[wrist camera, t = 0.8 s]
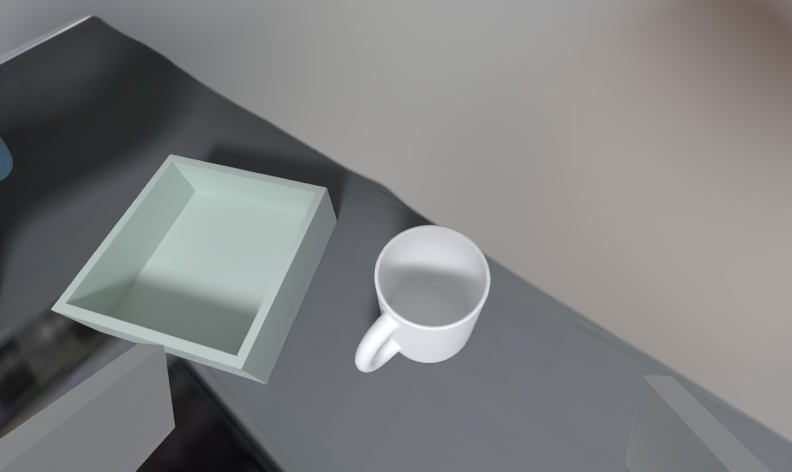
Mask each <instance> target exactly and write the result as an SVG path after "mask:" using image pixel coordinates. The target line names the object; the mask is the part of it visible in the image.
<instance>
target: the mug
mask: <svg viewBox="0 0 792 472" xmlns="http://www.w3.org/2000/svg"><path fill="white" fill-rule="evenodd" d="M375 286H376V291H377V296H378V301H379V306H380V311H381V316H380V317H379V318H378V319H377V320H376V321H375V322H374V324H373V325H372V326H371V327H370V329H369V330H368V331H367V333H366V334H365V335H364V337H363V339H362V340H361V342H360V344H359V346H358V348H357V352H356V355H355V363H356V366H357V368H358V369H359V370H361V371H362V372H371V371H374V370H376V369H377V368H379V367H380V366H382V365H383V364H384V363H386V362H387V361H388V360H389V359H390V358H391V357H393V356H394V355H395V354H396V353H397V352H398V351H399V352H400V353H401V354H403V355H404V356H406V357H408V358H410V359H412V360H415V361H418V362H424V363H434V362H440V361H443V360H446V359H448V358H450V357H452V356H453V355H455V354H456V353H457V352H458V351H460V350H461V348H462V347H463V346H464V345H465V344H466V342H467V340H468V339H469V337H470V334H471V332H472V330H473V328H474V325H475V323H476V321H477V318H478V316H479V314H480V312H481V309H482V307H483V305H484V302H485V300H486V298H487V296H488V292H489V288H490V271H489V267H488V263H487V261H486V259H485V256H484V255H483V253H482V251H481V250H480V248H479V247H478V246H477V245H476V244H475V243H474V242H473V241H472V240H471V239H470V238H468V237H467V236H466V235H464V234H462V233H460V232H459V231H456V230H454V229H451V228H448V227H444V226H439V225H423V226H417V227H413V228H410V229H408V230H405V231H403V232H401V233H399V234H398V235H397V236H395V237H394V238H393V239H391V240H390V241H389V242H388V243H387V245H386V246H385V247H384V248H383V250H382V251H381V253H380V255H379V257H378V259H377V263H376V266H375Z"/></svg>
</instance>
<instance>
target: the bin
mask: <svg viewBox="0 0 792 472" xmlns="http://www.w3.org/2000/svg"><path fill="white" fill-rule="evenodd" d="M336 223H337V219H336V216H335V213H334V210H333V206H332V203H331V200H330V196H329V193H328V190H327V188H325V187H320V186H315V185H311V184H306V183H301V182H297V181H292V180H287V179H283V178H278V177H273V176H269V175H264V174H259V173H255V172H250V171H245V170H241V169H236V168H231V167H227V166H222V165H217V164H213V163H208V162H203V161H199V160H194V159H189V158H185V157H180V156H175V155H171V154H170V155H169V157H168V158H167V159H166V161H165V162H164V163H163V165H162V166H161V167H160V168H159V170H158V171H157V172H156V174H155V175H154V176H153V178H152V179H151V180H150V181H149V183H148V184H147V185H146V187H145V188H144V189H143V191H142V192H141V193H140V194H139V196H138V197H137V198H136V200H135V201H134V202H133V204H132V205H131V206H130V207H129V209H128V210H127V211H126V213H125V214H124V215H123V217H122V218H121V219H120V220H119V222H118V223H117V224H116V226H115V227H114V228H113V230H112V231H111V232H110V233H109V235H108V236H107V237H106V239H105V240H104V241H103V243H102V244H101V245H100V246H99V248H98V249H97V250H96V252H95V253H94V254H93V256H92V257H91V258H90V259H89V261H88V262H87V263H86V265H85V266H84V267H83V269H82V270H81V271H80V272H79V274H78V275H77V276H76V278H75V279H74V280H73V282H72V283H71V284H70V285H69V287H68V288H67V289H66V291H65V292H64V293H63V295H62V296H61V297H60V299H59V300H58V301H57V302H56V304H55V305H54V306H53V308H52V309H51V310H53V311H55V312H57V313H59V314H62V315H64V316H66V317H69V318H71V319H73V320H75V321H78V322H80V323H82V324H85V325H87V326H89V327H91V328H94V329H96V330H98V331H101V332H104V333H107V334H110V335H113V336H116V337H119V338H122V339H126V340H129V341H132V342H135V343H142V344H158V345H164V350H165V352H167V353H170V354H173V355H176V356H179V357H182V358H186V359H189V360H192V361H195V362H198V363H201V364H205V365H208V366H211V367H214V368H217V369H220V370H223V371H227V372H230V373H233V374H236V375H239V376H242V377H246V378H249V379H252V380H255V381H258V382H261V383H264V384H267V383H268V381H269V378H270V376H271V374H272V372H273V369H274V367H275V365H276V362H277V360H278V358H279V355H280V353H281V351H282V348H283V346H284V344H285V341H286V339H287V337H288V335H289V332H290V330H291V328H292V325H293V323H294V321H295V318H296V316H297V314H298V311H299V309H300V307H301V304H302V302H303V300H304V297H305V295H306V293H307V291H308V288H309V286H310V284H311V281H312V279H313V277H314V274H315V272H316V270H317V267H318V265H319V263H320V260H321V258H322V256H323V254H324V251H325V249H326V247H327V244H328V242H329V240H330V237H331V235H332V233H333V230H334V228H335V226H336Z"/></svg>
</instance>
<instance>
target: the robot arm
mask: <svg viewBox="0 0 792 472" xmlns="http://www.w3.org/2000/svg"><path fill="white" fill-rule="evenodd" d="M12 166H13V160H12V156H11V154H10V152H9V150H8V148H7V146H6V145H5V143H4V142H3V140H2V139H1V137H0V181H1V180H3V179H4V178H6V177H7V176H8V175H9V174H10V172H11V170H12ZM174 427H175V424H174V417H173V409H172V402H171V395H170V387H169V380H168V372H167V365H166V357H165V350H164V345H158V344H142V343H138V344H137V345H135V346H134V347H132V348H131V349H130V350H128V351H127V352H125V353H124V354H122V355H121V356H119V357H118V358H117V359H115V360H114V361H112V362H111V363H109V364H108V365H107V366H105V367H104V368H102V369H101V370H99V371H98V372H96V373H95V374H94V375H92V376H91V377H89V378H88V379H86V380H85V381H83V382H82V383H81V384H79V385H78V386H76V387H75V388H73V389H72V390H70V391H69V392H68V393H66V394H65V395H63V396H62V397H60V398H59V399H58V400H56V401H55V402H53V403H52V404H50V405H49V406H47V407H46V408H45V409H43V410H42V411H40V412H39V413H37V414H36V415H34V416H33V417H32V418H30V419H29V420H27V421H26V422H24V423H23V424H21V425H20V426H19V427H17V428H16V429H14V430H13V431H11V432H10V433H9V434H7V435H6V436H4V437H3V438H1V439H0V472H135V471H136V470H137V469H138V468H139V467H140V466H141V465H142V463H143V462H144V461H145V460H146V459H147V458H148V457H149V456H150V454H151V453H152V452H153V451H154V450H155V449H156V448H157V447H158V445H159V444H160V443H161V442H162V441H163V440H164V439H165V438H166V436H167V435H168V434H169V433H170V432H171V431H172V430H173V429H174ZM625 464H626V466H627V467H628V469H629V471H630V472H771V471H770V470H769V469H768V468H767V467H765V466H764V465H763V464H762V463H761V462H760V461H759V460H758V459H757V458H756V457H755V456H754V455H753V454H752V453H751V452H750V451H749V450H748V449H747V448H746V447H745V446H744V445H743V444H742V443H741V442H740V441H738V440H737V439H736V438H735V437H734V436H733V435H732V434H731V433H730V432H729V431H728V430H727V429H726V428H725V427H724V426H723V425H722V424H721V423H720V422H719V421H718V420H717V419H716V418H715V417H714V416H713V415H711V414H710V413H709V412H708V411H707V410H706V409H705V408H704V407H703V406H702V405H701V404H700V403H699V402H698V401H697V400H696V399H695V398H694V397H693V396H692V395H691V394H690V393H689V392H688V391H687V390H685V389H684V388H683V387H682V386H681V385H680V384H679V383H678V382H677V381H676V380H675V379H674V378H673V377H671V376H655V375H641V379H640V384H639V390H638V395H637V400H636V405H635V411H634V416H633V421H632V426H631V431H630V437H629V442H628V447H627V452H626V458H625Z"/></svg>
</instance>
